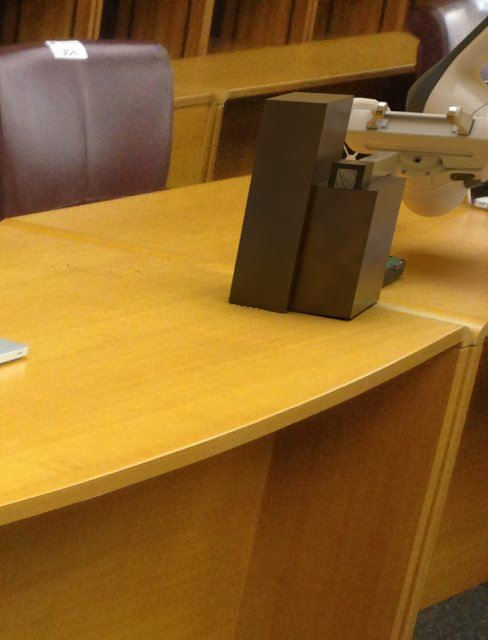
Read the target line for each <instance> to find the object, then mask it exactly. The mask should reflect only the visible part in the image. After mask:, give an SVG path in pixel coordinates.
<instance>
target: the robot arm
mask: <svg viewBox="0 0 488 640" xmlns="http://www.w3.org/2000/svg"><path fill="white" fill-rule="evenodd" d="M487 63H488V15H486V16H485V17H484V19H482V20H481V21H480V22H479V23H478V24H477V25H476V26H475V27H474V28H473V29H472V30H471V31H470V32H469V33H468V34H467V35H466V36H465V37H464V38H463V39H462V40H461V41H460V42H459V43H458V44H457V45H456V46H455V47H453V49H451V51H449V52H448V53H447V54H446V55H445V56H444V57H442V58H441V59H440V60H439V61H438V62H437V63H436V64H434V65H432V66H431V67H430V68H429V69H428V70H427V71H425V72H424V73H423V74H422V75H421V76H420V77H418V79H417V80H416V81H415V82H414V83H413V84H412V85H411V86H410V88H409V90H408V92H407V95H406V101H405V111H395V110H394V111H392V110H390V111H387V109H388V107H389V104H388V102H387V101H378V100H376V102H375V104H374V107H373V109H372V110H363V109H353V110H351V114H350V119H349V124H348V129H347V134H346V138H345V142H346V144H347V145H348V146H349V147H350V148H351V149H352V150H353V151H355V152H358V153H362V154H375V153H378V152H381V151H383V152H396V153H400V154H399V159H398V163H397V168H396V171H395V172H394V175H395V177H404V178H407V179H406V183H405V188H404V192H403V196H402V202H403V204H404V206H406V208H407V209H408V210H409V211H411V213H414V214H415V215H417V216H420V217H423V218H439V217H443V216H446V215H448V214H450V213H452V212H453V211H454V210H455V209H457V208H458V207H459V206H460V204H461V203H462V202H463V201H464V199H465V198H466V195H467V194H468V193H469V191H470V190H471V189H474V188H478V187H480V186H483V185H486V184H487V183H488V84H487V83H486V82H485V81H484V80H483V78H482V75H481V71H482V68H483V67H484V66H485V65H486V64H487ZM377 101H378V102H377Z"/></svg>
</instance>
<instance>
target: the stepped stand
mask: <svg viewBox="0 0 488 640" xmlns="http://www.w3.org/2000/svg"><path fill="white" fill-rule="evenodd" d="M354 98H355V95H354V94H352V95H351V94H338V93H336V94H335V93H319V92H305V91H304V92H302V91H293V92H289V93H286V94H285V93H284V94H281V95H277V96H274V97H269V98H266V99H265V100H264V106H263V112H262V115H261V116H262V117H261V121H260V126H259V132H258V138H257V144H256V149H255V150H256V151H255V155H254V160H253V166H252V171H251V176H250V182H249V188H248V192H247V197H246V204H245V208H244V214H243V220H242V225H241V231H240V235H239V242H238V246H237V252H236V257H235V263H234V268H233V274H232V279H231V285H230V290H229V294H228V295H229V296H228V301H227V304H228V303H230V304H229V305H233V304H235V305H234V306H238V305H240V306H239V307H244V306H246V307H245V308H249V307H252V308H251V309H255V308H258V309H257V310H260V309H263V310H262V311H266V310H268V311H267V312H273V311H274V312H273V313H275V312H276V313H281V312H282V313H281V314H286V313H288V312H297V313H298V312H299V313H304V314H305V313H306V314H313V315H320V316H327V317H335V318H343V319H349V320H350V319H352V318H353V317H355V316H356V315H358V314H360V313H361V312H363V311H364V310H366V309H367V308H369V307H370V306H372V305H374V304H375V303H377V302H378V301H380V297H381V293H382V288H383V285H382V284H383V280H384V275H385V271H386V267H387V262H388V258H389V256H390V253H391V250H392V244H393V240H394V235H395V231H396V227H397V223H398V218H399V213H400V210H401V209H400V208H401V205H402V202H403V200H402V196H403V192H404V188H405V183H406V179H407V178H404V177H392V176H384V177H381V178H379V179H377V180H374V181H372V182H370V185H369V187H366V188H364V189H362V190H353V189H342V188H331V187H327V185H328V180H329V176H330V171H331V166H332V162H335V161H338V160H340V159H341V158H342V153H343V148H344V143H345V138H346V134H347V129H348V124H349V119H350V114H351V110H352V105H353V100H354Z"/></svg>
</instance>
